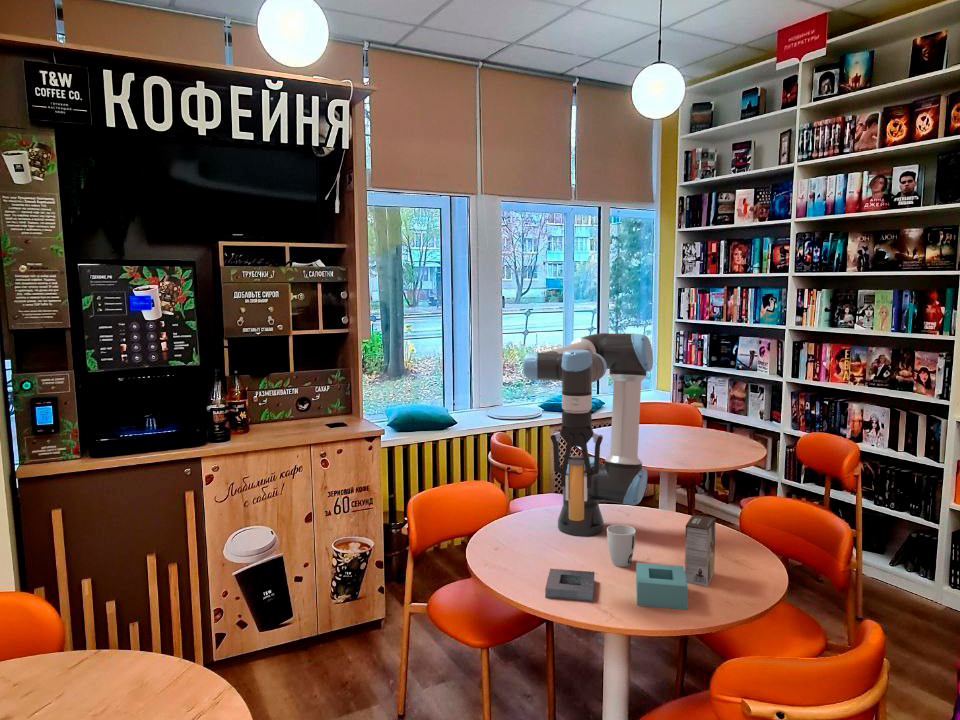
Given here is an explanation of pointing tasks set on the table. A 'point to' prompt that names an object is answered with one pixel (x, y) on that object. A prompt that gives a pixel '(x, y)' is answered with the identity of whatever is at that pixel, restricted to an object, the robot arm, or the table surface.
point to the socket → (661, 586)
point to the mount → (573, 592)
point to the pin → (576, 488)
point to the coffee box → (700, 550)
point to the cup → (621, 544)
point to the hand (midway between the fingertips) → (576, 498)
